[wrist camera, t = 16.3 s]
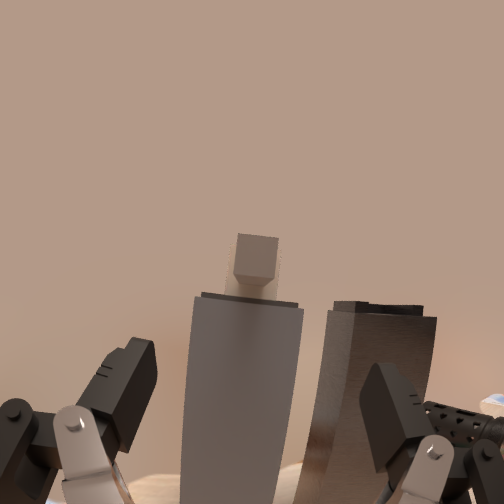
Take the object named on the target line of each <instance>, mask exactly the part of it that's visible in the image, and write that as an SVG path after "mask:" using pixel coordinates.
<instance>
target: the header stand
mask: <svg viewBox="0 0 504 504" xmlns="http://www.w3.org/2000/svg"><path fill="white" fill-rule="evenodd" d="M423 307H424V306H421V305H378V304H369V302H360V301H334V307H333V311H331V310H328V314H327V324H326V331H325V339H324V347H323V355H322V362H321V368H320V375H319V382H318V388H317V394H316V400H315V405H314V411H313V417H312V422H311V427H310V432H309V437H308V442H307V447H306V451H305V456H304V460H303V465H302V469H301V474H300V478H299V482H298V486H297V490H296V494H295V498H294V501H293V504H372V503H373V502H374V500H375V498H376V497H377V495H378V493H379V492H380V490H381V488H382V486H383V485H384V483H385V481H386V480H387V479H388V478H389V477H388V473H387V472H386V473H379V474H376V470H375V466H374V461H373V457H372V453H371V449H370V445H369V440H368V436H367V432H366V429H365V425H364V421H363V417H362V413H361V409H360V406H359V395H360V391H361V389H362V387H363V385H364V382H365V380H366V378H367V376H368V374H369V371H370V369H371V367H372V365H373V364H374V363H394V364H395V365H396V367H397V369H398V372H399V374H400V376H401V375H404V376H405V377H406V378H407V379H408V380H409V381H410V382H411V383H412V384H413V385H414V387H415V390H416V392H417V394H418V395H417V396H419V398H420V400H421V405H423V402H424V397H425V393H426V388H427V383H428V377H429V373H430V367H431V360H432V354H433V348H434V340H435V331H436V323H437V317H425V316H423Z"/></svg>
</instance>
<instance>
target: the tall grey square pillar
mask: <svg viewBox="0 0 504 504" xmlns="http://www.w3.org/2000/svg"><path fill="white" fill-rule="evenodd" d="M303 314H304V309H301V308H298V303H293V302H283V301H274V300H265V299H256V298H247V297H238V296H230V295H221V294H214V293H206V292H202V294H201V297H195V300H194V307H193V316H192V325H191V334H190V344H189V354H188V365H187V377H186V389H185V402H184V416H183V433H182V452H181V453H182V454H181V477H180V504H272V503H273V498H274V494H275V489H276V484H277V480H278V475H279V470H280V464H281V460H282V454H283V449H284V444H285V437H286V433H287V427H288V421H289V415H290V409H291V403H292V396H293V390H294V383H295V376H296V370H297V362H298V355H299V347H300V340H301V331H302V322H303Z"/></svg>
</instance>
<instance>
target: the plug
mask: <svg viewBox="0 0 504 504" xmlns="http://www.w3.org/2000/svg"><path fill="white" fill-rule="evenodd" d="M280 258H281V250H278V238H274V237H265V236H257V235H248V234H239V233H238V239H237V245H233V244H231V246H230V254H229V262H228V270H227V277H226V278H227V279H226V286H225V294H224V295H230V296H238V297H247V298H256V299H265V300H274V301H276V296H277V295H276V294H277V286H278V277H279V267H280Z"/></svg>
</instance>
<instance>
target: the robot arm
mask: <svg viewBox="0 0 504 504" xmlns="http://www.w3.org/2000/svg"><path fill="white" fill-rule="evenodd" d="M156 382H157V365H156V356H155V348H154V343H153V341H150V340H146V339H141V338H136V337H132V338H131V339H130V341H129V343H128V344H127V346H126V347H125V349H122V348H117V349H115V350H114V351H112V352H111V353H109V354H108V355H107V356H106V358H105V359H104V361H103V362H102V364H101V367H99V369H98V370H97V372H96V375H94V376H93V378H92V380H91V381H90V383H89V384H88V386H87V388H86V389H85V391H84V392H83V394H82V396H81V397H80V399H79V400H78V402H77V403H76V405H72V406H67V407H65V408H62V409H61V410H60V411H59V412H58V413H57V414H53V413H44V412H36V411H33V410H32V408H31V406H30V405H29V404H28V402H26V401H25V400H23V399H18V398H14V399H10V400H8V401H6V402H5V403H3V404H2V406H1V407H0V504H45V503H46V500H47V498H48V495H49V492H50V490H51V487H52V485H53V482H54V479H55V477H56V475H57V472H58V470H59V469H63V472H64V475H65V480H62V490H63V493H64V497H65V500H66V503H67V504H135V503H134V501H133V499H132V497H131V495H130V493H129V491H128V489H127V487H126V485H125V482H124V480H123V478H122V475H121V473H120V471H119V468H118V466H117V463H116V462H115V457H116V455H117V452H118V451H121V452H125V453H129V450H130V447H131V445H132V442H133V440H134V437H135V435H136V432H137V430H138V427H139V425H140V422H141V420H142V417H143V415H144V412H145V410H146V407H147V405H148V403H149V400H150V397H151V395H152V392H153V390H154V388H155V385H156ZM417 395H418V394H417V392H416V390H415V387H414V385H413V384H412V383H411V382H410V381H409V380H408V379H407V378H406V377H405V376H404V375H401V376H400V374H399V372H398V369H397V367H396V365H395V364H394V363H374V364H373V365H372V367H371V369H370V371H369V374H368V376H367V378H366V380H365V382H364V385H363V387H362V389H361V391H360V395H359V406H360V409H361V413H362V417H363V421H364V425H365V429H366V432H367V436H368V440H369V445H370V449H371V453H372V457H373V461H374V466H375V470H376V474H379V473H386V472H387V473H388V477H389V478H388V479H387V480H386V481H385V483H384V485H383V486H382V488H381V490H380V492H379V493H378V495H377V497H376V498H375V500H374V502H373V503H372V504H472V502H471V499H470V495H469V492H468V490H469V489H470V488H472V489H473V492H474V496H475V499H476V503H477V504H504V459H503V457H502V455H501V452H500V450H499V448H498V446H497V445H496V444H495V443H494V442H493V441H491V440H488V439H481V440H478V441H477V442H476V443H475V444H474V445H473V446H472V447H471V448H460V447H453V446H452V444H451V443H450V442H449V441H448V440H447V439H446V438H445V437H442V436H440V435H436V434H435V432H434V430H433V428H432V425H431V423H430V421H429V418H428V416H427V414H426V411H425V409H424V407H423V405H421V400H420V398H419V396H417Z"/></svg>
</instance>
